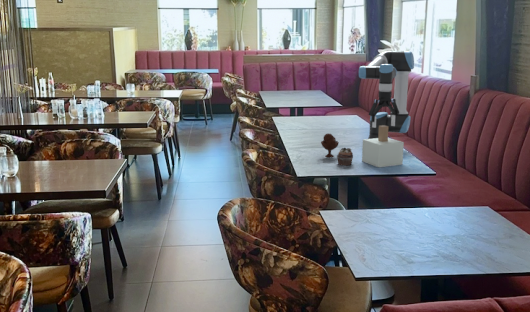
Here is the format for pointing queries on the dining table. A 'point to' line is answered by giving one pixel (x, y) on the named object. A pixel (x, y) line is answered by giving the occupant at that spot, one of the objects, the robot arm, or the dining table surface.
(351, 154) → the cupcake
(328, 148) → the ice cream bowl
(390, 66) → the robot arm
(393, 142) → the white box with knob
